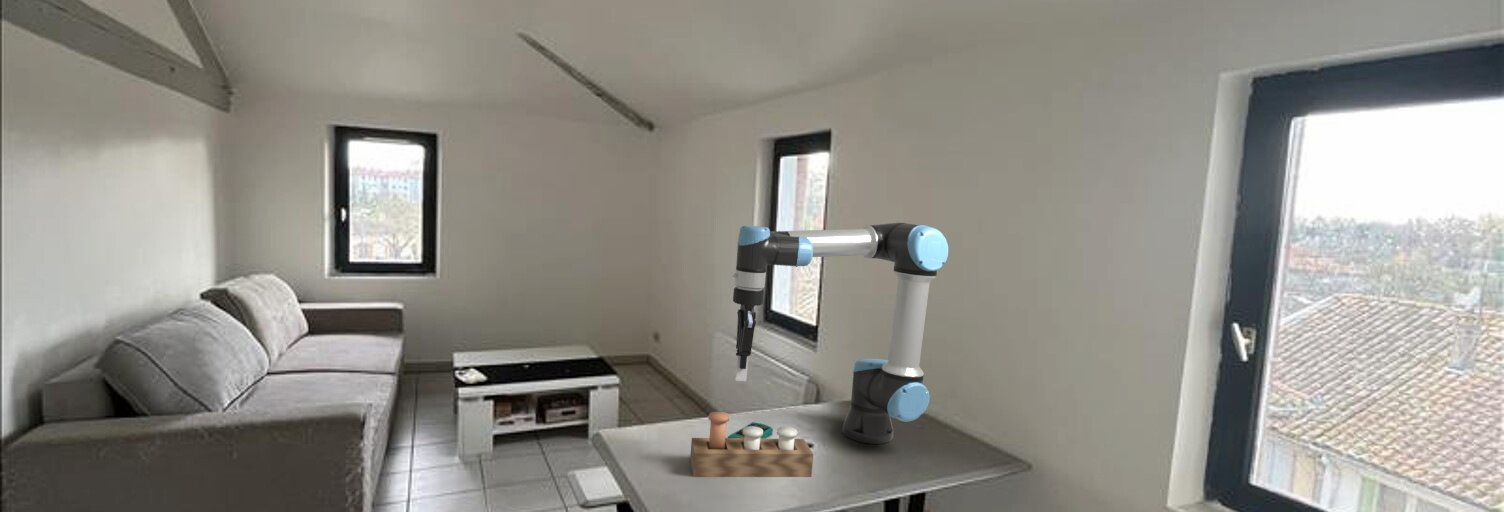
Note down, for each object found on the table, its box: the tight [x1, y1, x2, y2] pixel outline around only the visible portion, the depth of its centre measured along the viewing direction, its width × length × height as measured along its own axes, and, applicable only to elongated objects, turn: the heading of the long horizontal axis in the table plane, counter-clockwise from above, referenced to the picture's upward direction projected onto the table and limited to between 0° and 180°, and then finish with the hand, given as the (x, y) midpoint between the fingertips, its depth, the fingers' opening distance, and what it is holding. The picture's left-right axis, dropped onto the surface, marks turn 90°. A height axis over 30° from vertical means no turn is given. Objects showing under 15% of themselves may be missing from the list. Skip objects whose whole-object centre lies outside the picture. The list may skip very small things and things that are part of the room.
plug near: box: [776, 426, 798, 450], centre depth 175 cm, size 5×5×9 cm
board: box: [689, 437, 814, 478], centre depth 174 cm, size 30×10×6 cm, turn 100°
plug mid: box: [742, 426, 763, 450], centre depth 174 cm, size 5×5×9 cm
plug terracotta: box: [708, 411, 730, 450], centre depth 172 cm, size 5×5×9 cm
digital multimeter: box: [727, 421, 774, 439], centre depth 194 cm, size 7×15×3 cm, turn 152°
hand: (740, 380), depth 171 cm, fingers closed
